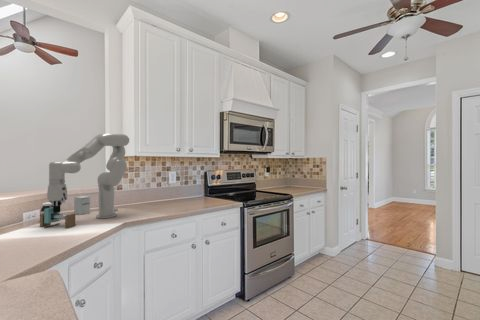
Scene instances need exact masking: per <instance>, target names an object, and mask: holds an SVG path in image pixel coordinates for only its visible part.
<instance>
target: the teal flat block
mask: <svg viewBox="0 0 480 320" xmlns="http://www.w3.org/2000/svg"><path fill="white" fill-rule="evenodd" d="M52 213H54V212H53V207H52V208H47V209H44V223H51V224H52V223H55V222H59V221H60V220H59V219H51V214H52ZM55 214H59V212H57V213H55Z"/></svg>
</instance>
